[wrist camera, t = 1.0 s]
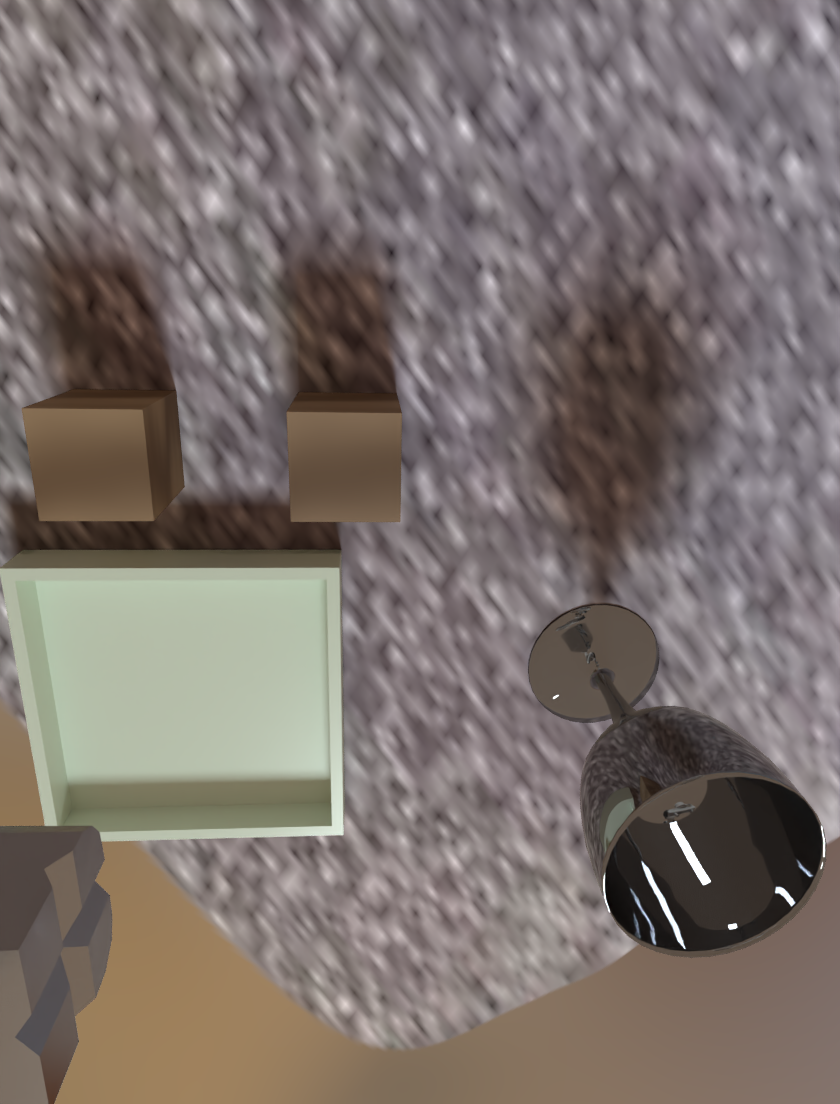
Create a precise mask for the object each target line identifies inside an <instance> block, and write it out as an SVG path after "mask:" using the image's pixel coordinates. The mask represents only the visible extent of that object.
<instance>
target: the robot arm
mask: <svg viewBox="0 0 840 1104" xmlns="http://www.w3.org/2000/svg"><path fill="white" fill-rule="evenodd" d="M104 860H105V859H104V853H103V848H102V842H101V837H100V832H99V831H98V830H96V829H95V828H94V827H93V826H0V1104H54V1103H55V1100H56V1098H57V1095H58V1093H59V1090H60V1088H61V1085H62V1083H63V1080H64V1077H65V1075H66V1072H67V1070H68V1067H69V1065H70V1062H71V1060H72V1057H73V1055H74V1052H75V1050H76V1047H77V1045H78V1042H79V1040H78V1033H77V1028H76V1021H75V1016H76V1015H77V1014H78V1013H79V1012H80V1011H81V1010H83V1009H84V1008H85V1007H86V1006H87V1005H88V1004H90V1002H92V1001H93V1000H94V999H95V998H96V996H97V993H98V990H99V988H100V985H101V982H102V979H103V977H104V974H105V971H106V967H107V961H108V955H109V951H110V946H111V941H112V910H111V902H110V895H109V894H108V893H107V892H106V891H105V890H104V889H103V888H102V887H101V886H99V884H97V883H96V882H95V879H96V877H97V875H98V873H99V870H100V868H101V866H102V864H103V862H104Z"/></svg>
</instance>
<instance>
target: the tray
mask: <svg viewBox="0 0 840 1104" xmlns="http://www.w3.org/2000/svg"><path fill="white" fill-rule="evenodd" d="M0 576H1V582H2V587H3V593H4V598H5V604H6V610H7V615H8V621H9V626H10V632H11V638H12V643H13V649H14V654H15V660H16V666H17V671H18V677H19V682H20V688H21V693H22V699H23V705H24V710H25V716H26V721H27V727H28V733H29V738H30V744H31V749H32V755H33V760H34V766H35V772H36V777H37V782H38V788H39V794H40V800H41V805H42V811H43V815H44V822H45V826H93V827H94V828H95V829H96V830H98V831H99V832H100V837H101V841H136V840H174V839H211V838H248V837H285V836H323V835H343V834H344V811H345V783H344V711H343V640H342V568H341V550H22V551H21V552H20V553H19V554H17V555H16V556H15V557H13V558H12V559H11V560H10V561H8V562H7V563H6V564H4V565H3V566H2V567H1V568H0Z"/></svg>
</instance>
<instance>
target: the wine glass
mask: <svg viewBox="0 0 840 1104" xmlns="http://www.w3.org/2000/svg"><path fill="white" fill-rule="evenodd" d="M658 665H659V648H658V644H657V640H656V637H655V635H654V633H653V631H652V630H651V628H650V627H649V626H648V625H647V623H646V622H645V621H644V620H643V619H641V618H640V617H639V616H638V615H636V614H635V613H633V612H631V611H629V610H627V609H624V608H621V607H618V606H613V605H607V604H600V605H589V606H584V607H580V608H577V609H574V610H571V611H569V612H568V613H566V614H564V615H562V616H560V617H559V618H557V619H556V620H555V621H553V622H552V623H551V624H550V625H549V626H548V627H547V628H546V629H545V630H544V631H543V632H542V634H541V635H540V636H539V638H538V639H537V641H536V643H535V645H534V647H533V649H532V651H531V655H530V659H529V667H528V674H529V682H530V685H531V688H532V691H533V693H534V694H535V696H536V698H537V700H538V701H539V702H540V703H541V704H542V705H543V706H544V707H545V708H546V709H547V710H549V711H550V712H551V713H553V714H555V715H556V716H558V717H560V718H563V719H566V720H569V721H573V722H580V723H594V722H600V721H605V720H608V719H611V718H612V721H613V724H612V725H610V726H609V727H608V728H607V729H606V730H605V731H604V732H603V733H602V734H601V736H600V737H599V738H598V740H597V741H596V742H595V744H594V745H593V746H592V748H591V750H590V752H589V754H588V755H587V757H586V760H585V763H584V766H583V769H582V776H581V784H580V809H581V819H582V826H583V832H584V838H585V843H586V848H587V851H588V854H589V857H590V861H591V864H592V867H593V870H594V873H595V876H596V879H597V882H598V885H599V887H600V890H601V893H602V895H603V898H604V900H605V903H606V905H607V908H608V910H609V912H610V914H611V915H612V917H613V918H614V920H615V922H616V923H617V925H618V926H619V927H620V928H621V929H622V930H623V931H624V932H625V933H626V934H627V935H628V936H629V937H630V938H631V939H633V940H634V941H636V942H637V943H639V944H640V945H642V946H644V947H647V948H649V949H651V950H654V951H656V952H659V953H663V954H667V955H671V956H679V957H690V958H693V957H710V956H716V955H721V954H727V953H730V952H734V951H737V950H740V949H743V948H746V947H748V946H750V945H752V944H755V943H757V942H759V941H761V940H763V939H765V938H766V937H768V936H770V935H771V934H773V933H775V932H776V931H778V930H779V929H781V928H782V927H783V926H784V925H785V924H787V923H788V922H789V921H790V920H792V919H793V918H794V917H795V916H796V914H798V912H799V911H800V910H801V909H802V908H803V907H804V906H805V905H806V903H807V902H808V900H809V899H810V897H811V896H812V894H813V893H814V891H815V890H816V888H817V885H818V883H819V881H820V879H821V877H822V874H823V869H824V865H825V861H826V839H825V834H824V829H823V827H822V825H821V823H820V820H819V818H818V816H817V814H816V813H815V811H814V810H813V809H812V807H811V806H810V805H809V804H808V802H807V801H806V800H805V798H804V797H803V796H802V795H801V793H800V792H799V791H798V790H797V789H796V787H795V786H794V785H793V784H792V783H791V781H790V780H789V779H788V778H787V777H786V776H785V775H784V774H783V773H782V771H781V770H780V769H779V768H778V767H777V766H776V765H775V764H774V763H773V762H772V761H771V760H770V759H769V758H768V757H767V756H766V755H764V754H763V753H762V752H761V751H760V750H758V749H757V748H756V747H755V746H754V745H752V744H751V743H750V742H749V741H747V740H746V739H745V738H744V737H743V736H741V735H740V734H739V733H738V732H736V731H734V730H733V729H731V728H730V727H728V726H727V725H725V724H724V723H722V722H720V721H718V720H716V719H715V718H713V717H711V716H709V715H706V714H704V713H701V712H699V711H696V710H693V709H689V708H685V707H677V706H660V707H651V708H646V709H641V710H638V711H636V710H635V709H634V708H633V706H635V705H636V704H637V703H638V702H639V701H640V700H641V699H642V698H643V697H644V696H645V694H646V693H647V692H648V691H649V689H650V687H651V686H652V684H653V682H654V680H655V677H656V674H657V671H658Z"/></svg>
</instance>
